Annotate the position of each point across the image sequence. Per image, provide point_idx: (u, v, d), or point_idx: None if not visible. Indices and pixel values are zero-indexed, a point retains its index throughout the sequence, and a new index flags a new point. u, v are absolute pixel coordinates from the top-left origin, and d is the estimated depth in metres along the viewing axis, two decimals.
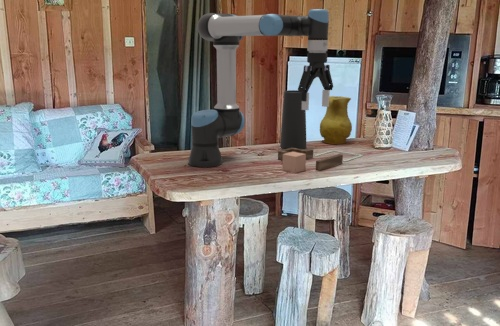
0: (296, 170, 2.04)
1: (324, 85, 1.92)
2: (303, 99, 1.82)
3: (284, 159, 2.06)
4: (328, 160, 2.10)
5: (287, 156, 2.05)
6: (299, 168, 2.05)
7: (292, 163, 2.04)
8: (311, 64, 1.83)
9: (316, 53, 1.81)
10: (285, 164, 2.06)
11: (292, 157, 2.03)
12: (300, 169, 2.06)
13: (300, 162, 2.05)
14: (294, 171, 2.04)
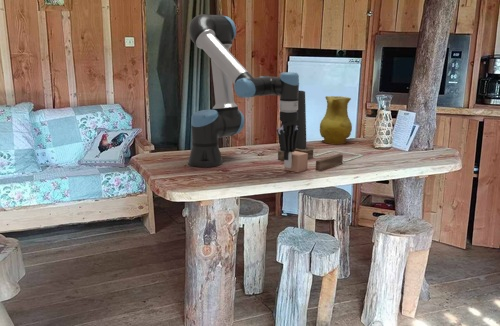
0: (298, 169, 2.04)
1: None
2: (285, 158, 2.02)
3: None
4: (328, 160, 2.10)
5: None
6: (301, 167, 2.06)
7: (294, 162, 2.04)
8: (283, 122, 1.97)
9: (287, 113, 1.95)
10: None
11: (294, 156, 2.04)
12: (302, 168, 2.06)
13: (302, 161, 2.06)
14: (296, 170, 2.04)
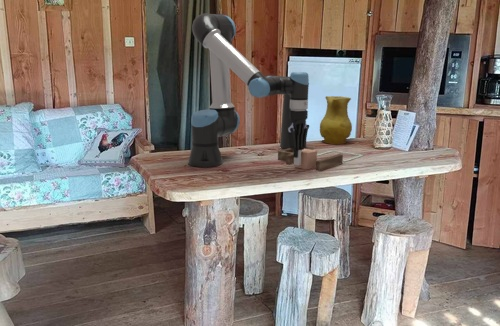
0: (307, 166, 2.09)
1: None
2: (295, 156, 2.07)
3: None
4: (328, 160, 2.10)
5: None
6: (310, 165, 2.11)
7: (304, 160, 2.09)
8: (293, 121, 2.02)
9: (297, 111, 2.00)
10: None
11: (304, 154, 2.09)
12: (311, 165, 2.11)
13: (312, 158, 2.11)
14: (305, 167, 2.09)
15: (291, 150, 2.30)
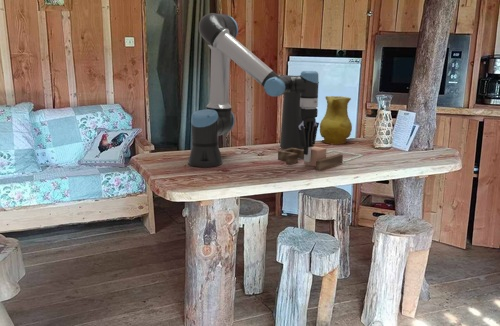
0: None
1: None
2: (305, 153, 2.12)
3: None
4: (328, 160, 2.10)
5: None
6: None
7: (313, 157, 2.14)
8: (303, 119, 2.07)
9: (307, 109, 2.05)
10: None
11: (313, 151, 2.13)
12: None
13: (321, 156, 2.15)
14: (315, 164, 2.14)
15: (291, 150, 2.30)
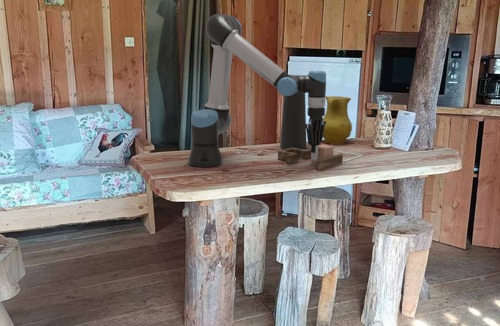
0: None
1: None
2: (312, 151, 2.16)
3: None
4: (328, 160, 2.10)
5: None
6: None
7: (321, 155, 2.18)
8: (311, 118, 2.11)
9: (315, 108, 2.10)
10: None
11: (321, 149, 2.18)
12: None
13: (329, 154, 2.20)
14: None
15: (291, 150, 2.30)
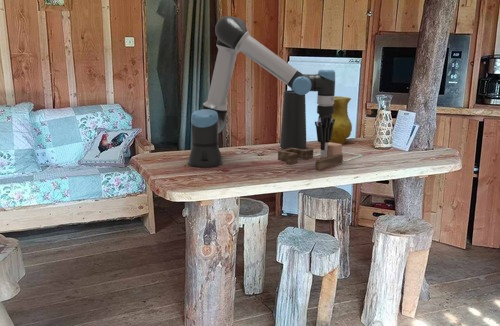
0: None
1: None
2: (322, 148, 2.21)
3: None
4: (328, 160, 2.10)
5: None
6: None
7: (330, 152, 2.23)
8: (320, 115, 2.16)
9: (324, 106, 2.14)
10: None
11: (330, 147, 2.23)
12: None
13: (337, 151, 2.25)
14: None
15: (291, 150, 2.30)
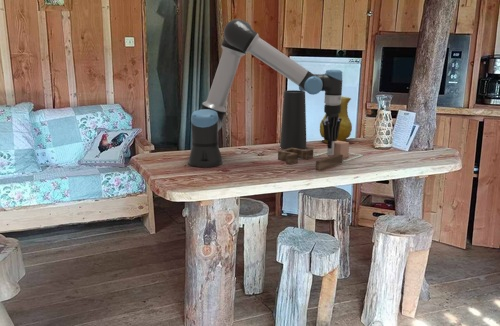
0: None
1: None
2: (329, 146, 2.25)
3: None
4: (328, 160, 2.10)
5: None
6: (343, 155, 2.29)
7: (337, 150, 2.28)
8: (328, 114, 2.20)
9: (332, 106, 2.19)
10: None
11: (337, 145, 2.27)
12: (344, 156, 2.30)
13: (344, 149, 2.29)
14: None
15: (291, 150, 2.30)
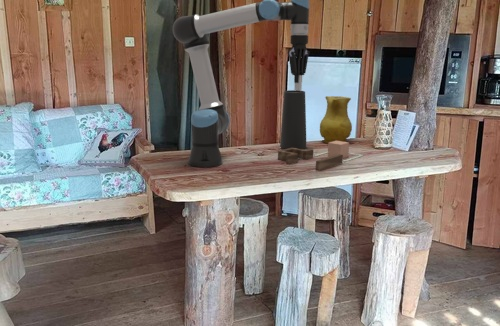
0: None
1: None
2: (296, 81, 2.12)
3: (329, 147, 2.30)
4: (328, 160, 2.10)
5: (332, 144, 2.29)
6: (343, 155, 2.29)
7: (337, 151, 2.28)
8: (294, 45, 2.07)
9: (298, 35, 2.05)
10: (330, 151, 2.30)
11: (337, 145, 2.27)
12: (344, 156, 2.30)
13: (344, 149, 2.29)
14: None
15: (291, 150, 2.30)
